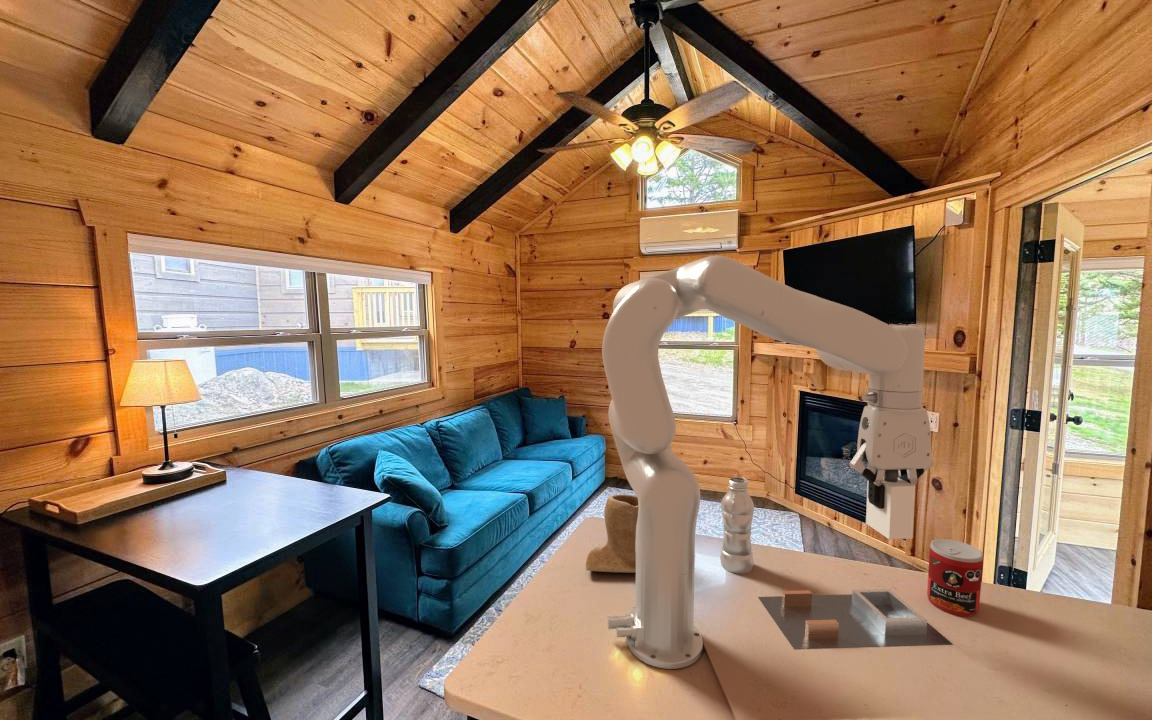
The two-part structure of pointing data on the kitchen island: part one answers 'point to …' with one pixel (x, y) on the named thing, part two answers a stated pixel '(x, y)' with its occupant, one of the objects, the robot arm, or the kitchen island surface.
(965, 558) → the canned food
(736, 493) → the plastic bottle
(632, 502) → the tan suede boot
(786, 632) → the panel
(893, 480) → the plug
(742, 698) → the kitchen island surface
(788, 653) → the kitchen island surface
